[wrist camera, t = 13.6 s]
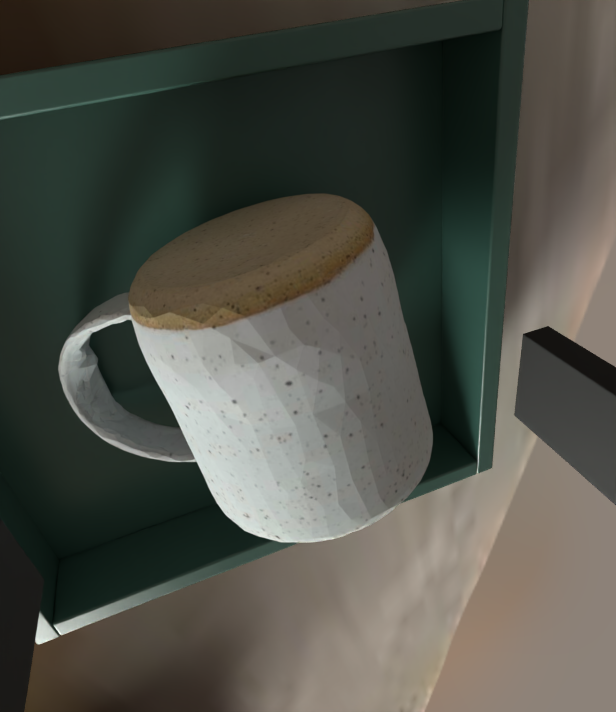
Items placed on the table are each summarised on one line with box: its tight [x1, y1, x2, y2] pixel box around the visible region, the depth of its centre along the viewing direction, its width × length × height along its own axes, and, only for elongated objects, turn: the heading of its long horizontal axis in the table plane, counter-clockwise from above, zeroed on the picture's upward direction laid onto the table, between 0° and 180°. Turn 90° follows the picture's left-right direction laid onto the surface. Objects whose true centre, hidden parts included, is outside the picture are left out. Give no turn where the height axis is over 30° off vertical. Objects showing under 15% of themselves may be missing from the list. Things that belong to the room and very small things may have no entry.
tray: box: [0, 0, 529, 644], centre depth 17 cm, size 20×18×4 cm
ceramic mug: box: [58, 193, 433, 543], centre depth 15 cm, size 11×8×8 cm
